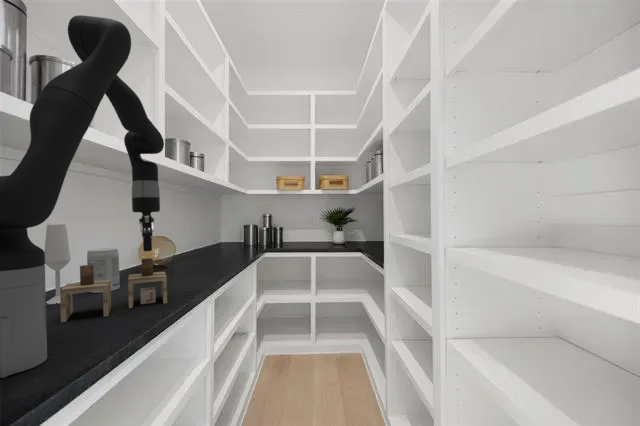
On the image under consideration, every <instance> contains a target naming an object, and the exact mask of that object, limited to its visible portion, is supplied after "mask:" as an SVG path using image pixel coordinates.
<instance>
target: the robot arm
mask: <svg viewBox="0 0 640 426" xmlns="http://www.w3.org/2000/svg"><path fill="white" fill-rule="evenodd" d="M67 34H68V35H67V36H68V39H69V42H70V44H71V47H72V49H73V51H74V52H75V53H76V55H77V57H78V58H79V59H80V61H81V63H79V64H76V65H75V66H73V67H71V68H69V69H67V70H66V71H64V72H62V73H60V74H58V75H57V76H55V77H54V78H52V79H51V80H49V81H48V82H47V83H46V85H45V86H44V87H43V89H42V90H41V91H40V93H39V95H38V96H37V98H36V100H35V102H34V103H33V105H32V107H31V109H30V114H29V129H30V130H29V131H30V132H29V133H30V142H29V145H28V148H27V150H26V152H25V154H24V156H23V157H22V158H21V160H20V161H19V164H18V165H17V166H16V168H15V169H14V170H13V171H12V173H10V174H9V175H0V379H4V378H7V377H8V376H10V375H15V374H19V373H21V372H24V371H27V370H31V369H33V368H36V367H37V366H39V365H42V364H43V363H45V361H47V359H48V343H47V342H48V341H47V339H48V338H47V337H48V335H47V304H46V302H47V299H46V295H47V294H46V293H47V292H46V264H45V253H44V251H45V250H43V248H41V247H39V246H38V245H36V244H35V243H33V241H32V240H31V239H30V237H29V235H28V234H29V233H28V228H34V227H37V226H40V225H41V224H42V223H44V222H46V220H47V219H49V217H50V216H51V215H52V213H53V211H54V210H55V207H56V205H57V202H58V199H59V196H60V194H61V191H62V187H63V184H64V181H65V178H66V176H67V173H68V171H69V167H70V165H71V163H72V161H73V159H74V157H75V155H76V153H77V151H78V149H79V146H80V144H81V142H82V139H83V138H84V136H85V134H86V133H87V131H88V129H89V128H90V125H91V123H92V121H93V119H94V117H95V114H96V113H97V111H98V108H99V106H100V104H101V103H102V102H101V101H102V100H103V99H104V96H105V95H106V97H107V98H108V101H110V104H111V105H112V107H113V110H114V111H115V114H116V115H117V118H118V119H119V121H120V124H121V126H122V127H123V128H124V130H125V131H127V132H126V134H125V135H124V138H123V141H124V142H123V144H124V146H125V149H126V153H127V155H128V158H129V162H130V166H131V177H132V178H131V182H132V184H131V205H132V206H131V209H132V212H133V213H141V217H140V218H139V219H138V223H139V226H140V227H139V228H140V233H141V237H142V240H143V243H142V244H143V247H142V248H143V251H144V252H152V249H153V241H152V240H153V239H152V238H153V236H154V235H153V232H154V225H155V218H154V217H153V216H152V213H159V212H160V211H161V201H160V200H161V199H160V197H161V196H160V185H159V168H158V164H157V163H155V162H152V161H149V160H144V159H143V158H142V156H141V155H157V154H160V153H161V152H162V151H163V150H164V148H165V141H164V138H163V135H162V133H161V132H160V131H159V130H158V129H157V128H156V126H155V124H153V122H152V121H151V120H150V118H149V117H148V115H147V113H146V110H145V107H144V106H143V105H144V104H143V102H142V100H141V99H140V97H139V96H138V94H136V92H135V91H134V90H132V88H131V87H130V86H129V85H128V84H127V83H126V82H125V81H124V80H123V79H122V78H120V77H119V75H118V74H119V72H120V71H121V69H122V68H123V67H124V65H125V63H127V60H128V58H129V56H130V54H131V49H132V37H131V33H130V31H129V28H127V27H126V25H125V24H124V23H122V22H120V21H118V20H116V19H112V18H108V17H100V16H99V17H98V16H93V15H92V16H91V15H74V16H72V17H71V18H70V19H69V22H68V25H67Z"/></svg>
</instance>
